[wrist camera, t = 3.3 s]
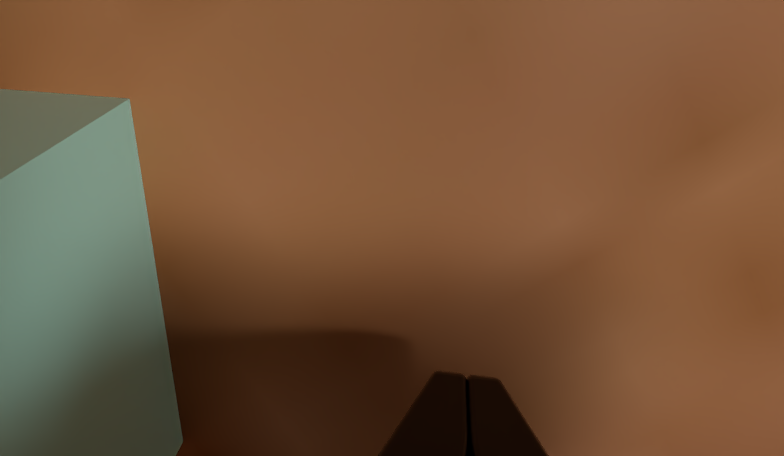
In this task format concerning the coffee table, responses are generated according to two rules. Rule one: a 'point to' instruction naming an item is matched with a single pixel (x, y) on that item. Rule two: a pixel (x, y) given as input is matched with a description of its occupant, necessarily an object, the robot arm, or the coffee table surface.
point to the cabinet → (79, 285)
